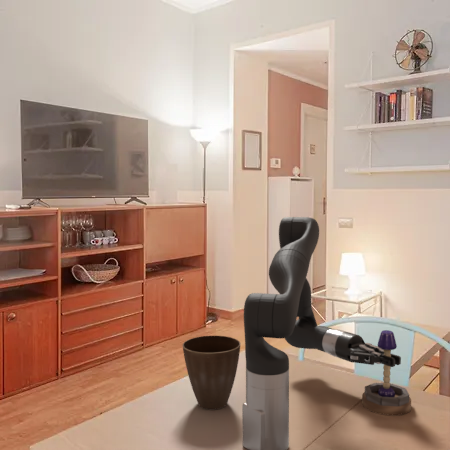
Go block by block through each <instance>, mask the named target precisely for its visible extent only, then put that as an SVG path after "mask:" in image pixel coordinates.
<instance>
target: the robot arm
mask: <svg viewBox="0 0 450 450" xmlns="http://www.w3.org/2000/svg"><path fill="white" fill-rule="evenodd" d="M278 227H279V228H278V241H279V247H280V248H279V250H277V252H276V253H275V254H274V256H273V258H272V261H271V263H270V265H269V269H268V277H269V280H270V283H271V284H272V286H273V288H274V289H275V290H276V291H277V293H262V292H257V293H256V292H254V293H253V292H252V293H250V294H249V295H247V297H246V299H245V300H244V304H243V305H244V307H243V327H244V329H243V331H244V348H245V353H244V355H245V402H243V403H242V405H241V406H242V416H241V417H242V447H244V448H246V449H247V450H289V447H290V446H289V445H290V415H289V414H290V411H289V410H290V359H289V356H288V354H287V353H286V352H284V351H283V350H281V349H279V348H277V347H275V346H273V345H271V344H270V343H268V341H266V340H265V339H264V338H269V339H280V340H281V339H284V340H285V341H286V342H287V344H289V345H290V346H292V347H294V348H298V349H308V350H318V351H320V352H323V353H326V354H329V355H330V356H333V357H336V358H338V359H340V360H344V361H346V362H350V363H356V364H364V365H370V366H373V365H375V364H377V365H380V364H381V365H383V366H384V365H387V366H390V367H391V368H394V367H395V366H396V365H397V366H399V365H401V364H402V361H401V360H402V357H401V356H400V355H396V354H394V353H390V354H391V357H389V356H386V355H384V349H381V348H379V347H378V345H374V344H373V343H370V342H365V340H364V339H363V338H362V336H361V335H359V334H356V333H352V332H349V331H345V330H342V329H335V328H332V327H328V326H324V325H318V324H317V321H316V317H315V313H314V310H313V308H312V290H311V285H310V283H309V280H308V278H307V277H308V272H309V268H310V264H311V259H312V255H313V253H314V252H315V249H316V248H317V245H318V242H319V237H320V225H319V223H318V221H317V220H316V219H315V218H313V217H309V216H301V217H300V216H287V217H286V216H285V217H283V218H282V219H281V220H280V222H279V226H278ZM278 293H279V294H278ZM297 318H298V319H297Z"/></svg>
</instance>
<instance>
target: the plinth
mask: <svg viewBox="0 0 450 450" xmlns="http://www.w3.org/2000/svg"><path fill="white" fill-rule="evenodd" d="M381 387H383V382H373V383H370V384H368V385H365V386H364V392H363V393H362V394H361V403H362V406H363V407H364V408H365V409H366V410H368V411H370V412H372V413H375V414H379V415H383V416H403V415H407V414H408V413H409V412H411V410H412V399H411V397H410V394H409V392H408V390H407V388H406V387H403V386H399V385H397V384H394V383H391V382H390V388H392V389H393V390H394V392H395V397H382V396H379V395H378V391H379V389H380V388H381Z"/></svg>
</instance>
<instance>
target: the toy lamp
mask: <svg viewBox="0 0 450 450" xmlns="http://www.w3.org/2000/svg"><path fill="white" fill-rule="evenodd" d="M397 345H398V344H397V342H396V338H395V334H394V332H393V331H392V330H390V329H389V330H387V329H386V330H382V331H381V332H380V335H379V338H378V340H377V346H378V347H379V348H381V349H384V355H386V356H389V357H391V354H392V353H391V352H392V350H393V351H394V350H396V349H397V347H398V346H397ZM390 353H391V354H390ZM391 368H392V367H390V366H387V365H384V364H383V368H382V369H383V373H382V374H383V377H382V381H383V382H382V383H383V387H381V388H380V389H379V391H378V395H379V396H382V397H395V392H394V390H393V389H392V388H390V383H391Z"/></svg>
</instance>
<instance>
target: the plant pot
mask: <svg viewBox="0 0 450 450" xmlns="http://www.w3.org/2000/svg"><path fill="white" fill-rule="evenodd" d="M182 351H183V357H184V362H185V367H186V371H187V375H188V379H189V381H190V386H191V388H192V391H193V394H194V396H195V400H196V401H197V404H198V406H199V407H200V408H202V409H205V410H214V411H215V410H219V409H223V408H225V407H226V406H227V405H228V402H229V399H230V397H231V394H232V390H233V387H234V382H235V381H236V375H237V372H238V371H237V369H238V365H239V360H240V353H241V342H240V341H239V340H238V338H235V337H230V336H224V335H203V336H202V335H201V336H196V337H192V338H189V339H187V340H185V341H184V342H183V343H182Z"/></svg>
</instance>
